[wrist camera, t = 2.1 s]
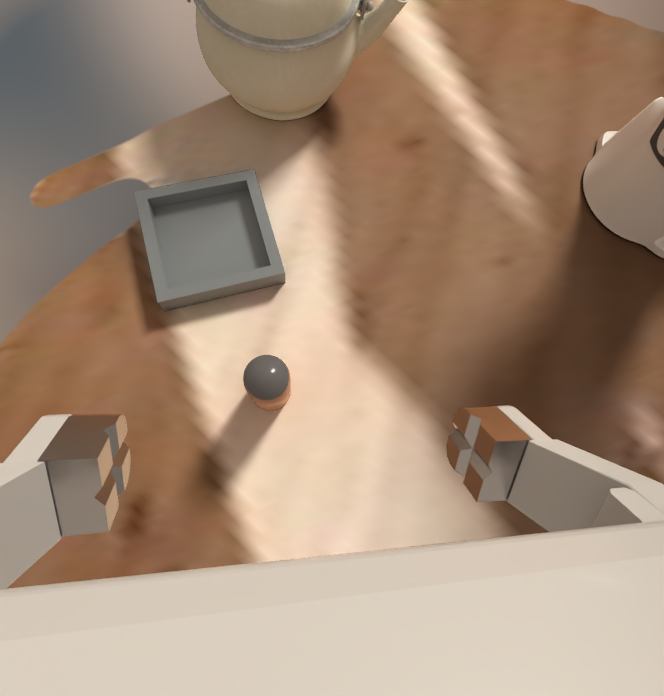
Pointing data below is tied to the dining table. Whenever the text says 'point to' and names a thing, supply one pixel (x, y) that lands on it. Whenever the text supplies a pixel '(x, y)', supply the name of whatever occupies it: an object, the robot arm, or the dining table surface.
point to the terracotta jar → (267, 382)
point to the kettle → (286, 48)
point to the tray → (208, 239)
